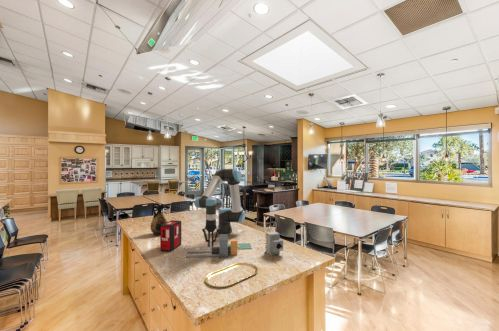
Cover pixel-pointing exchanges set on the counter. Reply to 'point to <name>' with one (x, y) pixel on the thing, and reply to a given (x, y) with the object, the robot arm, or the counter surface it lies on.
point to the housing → (222, 249)
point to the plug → (231, 249)
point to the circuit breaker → (273, 243)
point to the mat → (243, 246)
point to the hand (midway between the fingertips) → (210, 250)
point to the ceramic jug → (157, 219)
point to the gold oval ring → (230, 268)
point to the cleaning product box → (170, 236)
